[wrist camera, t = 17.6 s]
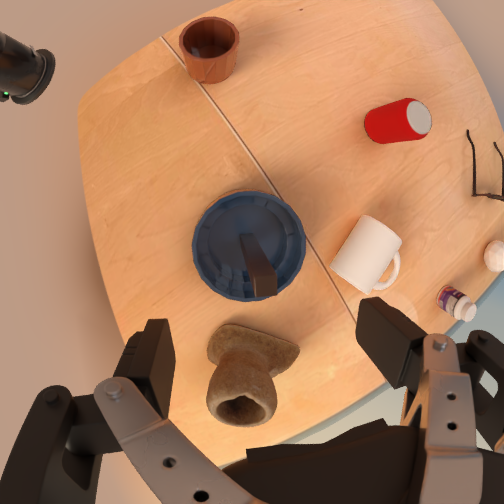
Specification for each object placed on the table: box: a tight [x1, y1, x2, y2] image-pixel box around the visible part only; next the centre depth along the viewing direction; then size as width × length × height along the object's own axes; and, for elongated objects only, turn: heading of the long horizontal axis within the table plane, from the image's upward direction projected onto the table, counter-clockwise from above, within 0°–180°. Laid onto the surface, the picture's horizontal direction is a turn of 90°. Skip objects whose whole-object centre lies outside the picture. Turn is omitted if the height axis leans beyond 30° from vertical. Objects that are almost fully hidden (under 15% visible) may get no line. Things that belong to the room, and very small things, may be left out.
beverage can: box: [364, 98, 432, 144], centre depth 34 cm, size 6×6×12 cm
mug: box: [329, 215, 402, 294], centre depth 42 cm, size 12×10×8 cm
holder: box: [179, 17, 239, 84], centre depth 30 cm, size 7×7×9 cm
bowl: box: [192, 189, 306, 302], centre depth 39 cm, size 15×15×6 cm
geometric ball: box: [484, 240, 504, 272], centre depth 46 cm, size 8×8×8 cm
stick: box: [240, 233, 277, 297], centre depth 33 cm, size 2×2×18 cm
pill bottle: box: [437, 286, 477, 322], centre depth 46 cm, size 5×5×10 cm
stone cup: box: [206, 324, 300, 427], centre depth 41 cm, size 15×12×15 cm
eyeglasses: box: [467, 130, 504, 202], centre depth 41 cm, size 15×15×5 cm
